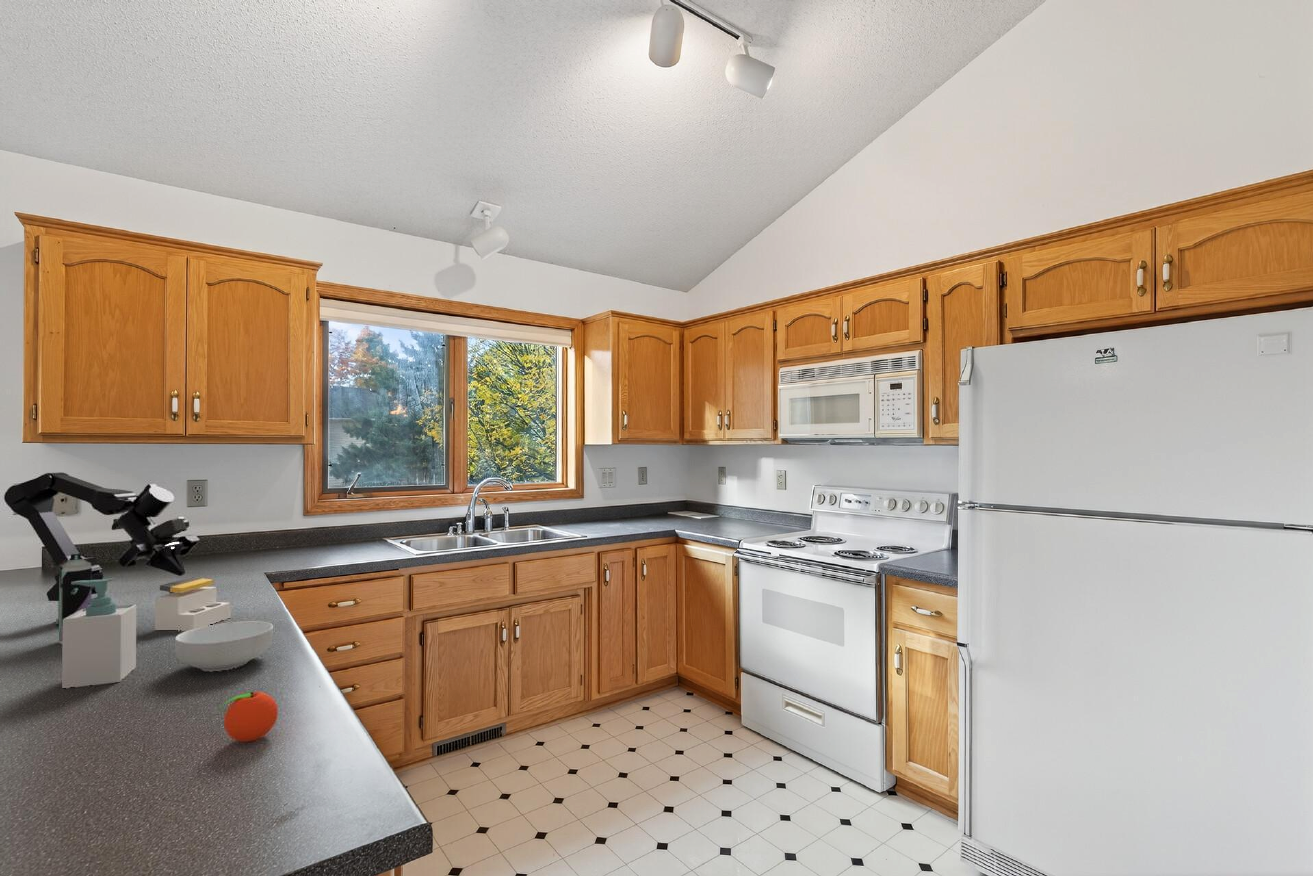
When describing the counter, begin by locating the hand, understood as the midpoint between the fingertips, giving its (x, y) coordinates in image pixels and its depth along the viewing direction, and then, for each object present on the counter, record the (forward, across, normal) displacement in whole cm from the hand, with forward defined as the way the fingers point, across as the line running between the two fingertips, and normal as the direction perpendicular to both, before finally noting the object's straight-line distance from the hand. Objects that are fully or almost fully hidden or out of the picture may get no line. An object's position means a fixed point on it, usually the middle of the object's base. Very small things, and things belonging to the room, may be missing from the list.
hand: (182, 574), depth 160 cm
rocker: (+3, 0, +2) cm, 4 cm away
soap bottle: (+20, -37, -2) cm, 42 cm away
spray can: (0, -15, +18) cm, 24 cm away
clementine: (+53, -59, -36) cm, 87 cm away
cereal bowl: (+33, -28, -15) cm, 46 cm away
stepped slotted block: (+11, 0, +6) cm, 13 cm away
